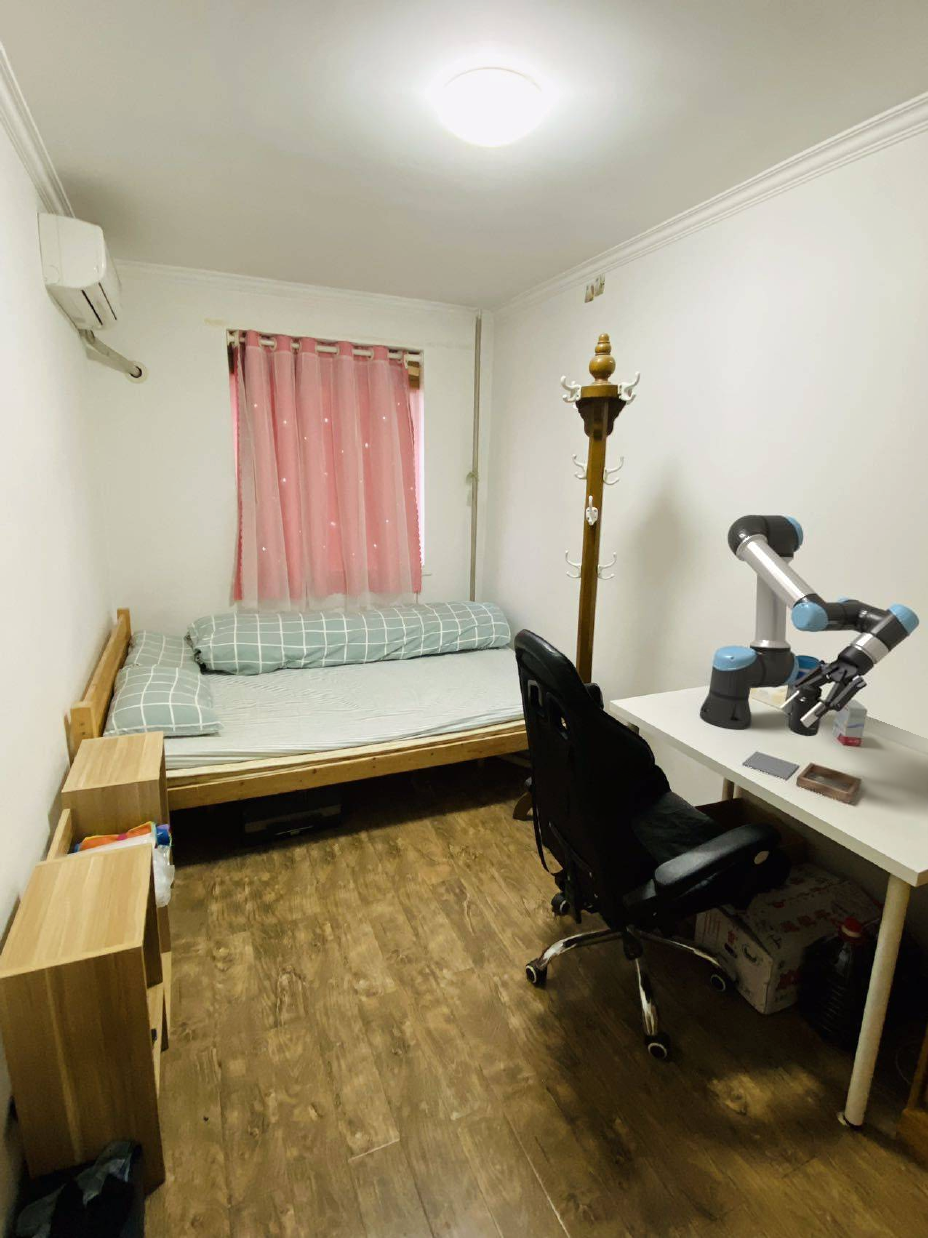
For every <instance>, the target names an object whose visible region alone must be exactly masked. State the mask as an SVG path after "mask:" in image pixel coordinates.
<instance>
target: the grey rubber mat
mask: <svg viewBox="0 0 928 1238" xmlns="http://www.w3.org/2000/svg"><path fill="white" fill-rule="evenodd" d="M742 764H743V765H742ZM741 765H742V766H744V765H745V766H744V767H746V766H749V767H752V768H754V769H753V770H755V769H758V770H760V771H759V772H761V771H762V772H761V773H764V772H766V773H765V774H767V773H768V774H767V775H769V774H772V775H774V776H773V777H775V776H777V777H776V778H778V777H780V778H779V779H781V778H783V779H782V780H784V779H785V780H784V781H787V780H788V779H789V778H790V777H791V776H792V775H793V773H795V771H796V770H797V769H798V768H799V767H800V765H799V764H796V763H794V762H791V761H787V760H784V759H782V758H778V757H775V756H772V755H769V754H765V753H762V752H759V751H755V752H753V754H751V755H750V756H749V757H748V758H747V759H746V760H744V761H743V762H742V763H741ZM749 767H748V768H749ZM752 768H751V769H752ZM758 770H757V771H758ZM772 775H771V776H772ZM787 778H788V779H787ZM786 779H787V780H786Z"/></svg>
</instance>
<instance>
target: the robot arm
mask: <svg viewBox="0 0 928 1238" xmlns="http://www.w3.org/2000/svg"><path fill="white" fill-rule="evenodd" d="M803 541H804V531H803V528H802V525H801V524H800V523H799V521H797V519H795V518H793V517H791V516H785V515H779V514H778V515H769V514H768V515H766V514H765V515H762V514H759V515H758V514H747V515H744V516H741V517H739V518H738V519H736V520H735V521H734V522H733V523H732V525H730V527H729V529H728V533H727V544H728V547H729V549H730V551H731V552H732V554H733V555H734V556H735V557H736V558H737V559H738V560H739V561H741V562H746V564H747V565H748V566H749V567H751V569H752V570H753V571H754V572H755V573H756V596H755V597H756V599H755V600H756V601H755V602H756V603H755V635H754V640H753V641H752V642H751V643H749V647H748V646H743V645H739V646H738V645H726V646H722V647H720V648H718V649H717V650H716V651H715V653H714V658H713V660H712V668H711V674H710V675H711V676H710V681H709V689H708V693H707V696H706V698H705V699H704V702H703V703H702V705H701V707H700V710H699V718H701V720H703V721H704V722H707V723H708V724H711V725H713V726H716V727H720V728H725V729H731V730H733V729H735V730H736V729H737V730H740V729H741V730H742V729H747V728H750V727H751V725H752V718H753V716H752V712H751V707H750V702H749V698H750V694H751V689H761V688H762V689H763V688H774V689H775V688H781V687H786V686H788V684H790V683H791V682H792V681H794V679H795V678H796V676H797V674H798V671H799V662H798V659H797V658H796V656H797V655H796V654H795V653H794V652H792V650H791V649H792V647H791V644H789V643H788V642H787V640H786V636H787V635H786V632H787V630H786V629H787V608H789V609H790V611H791V613H790V615H791V617H790V619H791V620H792V625H793V626H794V627H795V629H797V630H799V631H801V632H809V633H810V632H811V633H817V632H818V633H819V632H837V631H838V632H839V631H840V632H844V631H845V632H846V631H847V632H848V631H854V632H857V633H859V635H858V636H857V637H855V639H853V640H852V641H851V642H850V643H849V645H847V646H846V647H844V648H843V649H842V650H841V651H840V652H839V653H838V654H837V658H836V660H834V661H832V662H825V660H823V659H821V660H819V663H818V664H817V665H816V666H815V667H814V668H813V669H812V670H810V671H809V672H808V673H806V674H805V675H804V676H803V677H801V678H800V679H799V680H797V681H796V682H795V683H794V686H795V687H796V691H795V692H794V693H793V694H792V695H791V696H789V697H788V700H787V701H786V702H785V701H784V703H782V705H780V706H779V709H780V711H782V713H783V715H785V714H786V715H787V714H788V713H789V712H790V711H791V708H792V703H793V699H794V697H795V696H796V695H797V694H800V693H799V690H800V687H801V685H803V684H809V685H814V686H817V687H820V688H821V687H823V686H824V685H827V684H831V683H833V685H832V687H831V689H830V690H829V693H828V694H827V696H826V698H825V699H822V702H823V703H824V704H823V703H821V702H819V703H818V704H817V705H816V706H815V707H814V708H812V709H811V710H810V711H809V712H808V713H807V714H806V715H805V716H804V717H802V718H801V719H800V720H801V721H802V723H803V724H804V725H805V726H806V727H807V728H808V727H809V726H810V725H811V724H812V723H813V722H814V721H815V720H817V719H818V718H821V719H822V718H823V717H824V716H825V715H826V714H827V713H829V712H830V711H837V712H839V711H841V710H842V708H843V707H844V706H845V705H846V704H847V703H848V702H849V701H850V700H853V697H855V696H856V694H858V693H859V691H861V690H862V689H864V688H865V687H867V682H866V681H865V680H864V677H862V676H865V675H866V674H867V673H869V672H870V671H871V670H873V668H874V667H875V665H877V664H879V663H880V661H882V660H883V659H884V658H885V657H887V656H888V655H889V654H890V653H891V651H892V650H894V649H895V648H896V647H897V646H898V645H899V644H900V643H902V642H903V641H904V640H906V639H907V638H908V637H910V636H911V634H912V633H913V632H914V631H915V630H916V629H917V628H918V627H919V625H920V619H919V617H918V615H917V614H916V613H915V612H914V611H913V610H912V609H910V608H909V607H907V606H904V605H903V604H893V605H891V606H890V607H888V608H887V609H886V610H885V609H882V608H878V607H875V606H873V605H870V604H867V603H865V602H862V601H860V600H857V599H852V598H849V597H841V598H839V599H838V600H836V601H835V602H833V601H831V602H830V601H829V602H827V601H825V600H824V599H823V598H822V597H821V596H820V595H819V594H818V593H817V592H816V591H815V590H814V589H813V588H812V587H811V586H810V585H809V584H808V583H807V582H806V580H804V579H803V578H802V577H801V576H800V575H799V574H798V573H797V572H796V571H795V570H794V569H793V568H792V567H791V566H790V565H789V564H790V562H791V561H792V560H794V557H795V554H794V553H796V552H797V551H798V550H799V549H800V548H801V547H800V546H802V545H803ZM838 704H839V705H838ZM786 715H785V716H786Z"/></svg>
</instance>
